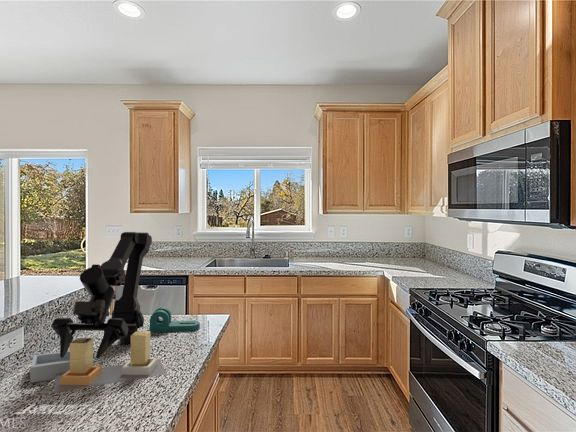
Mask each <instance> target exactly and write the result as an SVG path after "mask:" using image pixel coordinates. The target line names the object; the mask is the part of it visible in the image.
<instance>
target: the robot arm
mask: <svg viewBox="0 0 576 432" xmlns="http://www.w3.org/2000/svg"><path fill="white" fill-rule="evenodd" d="M152 243H153V238H152V236H151V235H150V234H149V232H138V231H137V232H136V231H124V232H121V233H120V239H119V241H118V243H117V245H116V246H115V248H114V250H113V252H112V254H111V255H110V257H109V259H108V260H106V261H104V262H102V263H101V264H92V265H91V267H89V268H87V269H85V270H83V272H81V273H80V274H79V281H80V282H81V284H82V286H83V287H84V289H85V290H86V293H88V295H90V299H89V301H75V303H74V308H73V313H72V314H73V315H76V316H77V320H78V321H80V322H74V321H73V320H72V319H71V317H56V318H55V319H54V320H53V321H52V323H51V325H50V327H51V328H52V329H53V331H54V332H55V333H56V334H57V335H58V336H59V339H60V346H59V350H60V351H59V352H60V357H61V358H63V357H64V356H65V354H66V353H67V351H69V349H70V343H71V342H72V341H74V335H75V334H76V331H91V332H92V331H95V332H96V331H98V332H99V331H103V336H102V338H101V342H100V344H99V346H98V349H97V351H96V358H97V359H100V358H101V357H102V355H103V354H104V353H105V352H107V350H108V349H109V348H110V347H111V346H113V345H114V344H115V342H117V345H118V346H131V335H132V334H133V333H135V332H136V331H138V329H140V328H143V327H144V323H145V318H144V316H143V313H142V311H141V305H140V302H139V300H138V299H137V298H138V293H139V292H138V291H139V286H140V285H139V284H140V281H141V280H140V278H141V273H142V266H143V261H144V258H145V256H146V255H147V254H148V253H149V252H150V248H151V245H152ZM126 264H127V265H126ZM125 266H126V271H125ZM122 284H123V287H122V293H121V297H119V299H116V297H117V296H116V291H115V290H114V288H113V287H120V286H122ZM113 300H115V302H114V306H113V309H112V313H110V311H109V310H110V309H111V305H112V302H113ZM110 314H111V317H110ZM107 317H110V318H108V319H107ZM106 320H107V322H106Z"/></svg>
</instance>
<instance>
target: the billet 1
mask: <svg viewBox="0 0 576 432" xmlns="http://www.w3.org/2000/svg"><path fill="white" fill-rule="evenodd" d="M69 351H70V376H87V375H89V374H90V373H91V372H92V371H93V366H94V338H91V337H90V338H89V337H88V338H87V337H85V338H84V337H78V338H76V339H73V340H72V342H71V343H70V346H69Z"/></svg>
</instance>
